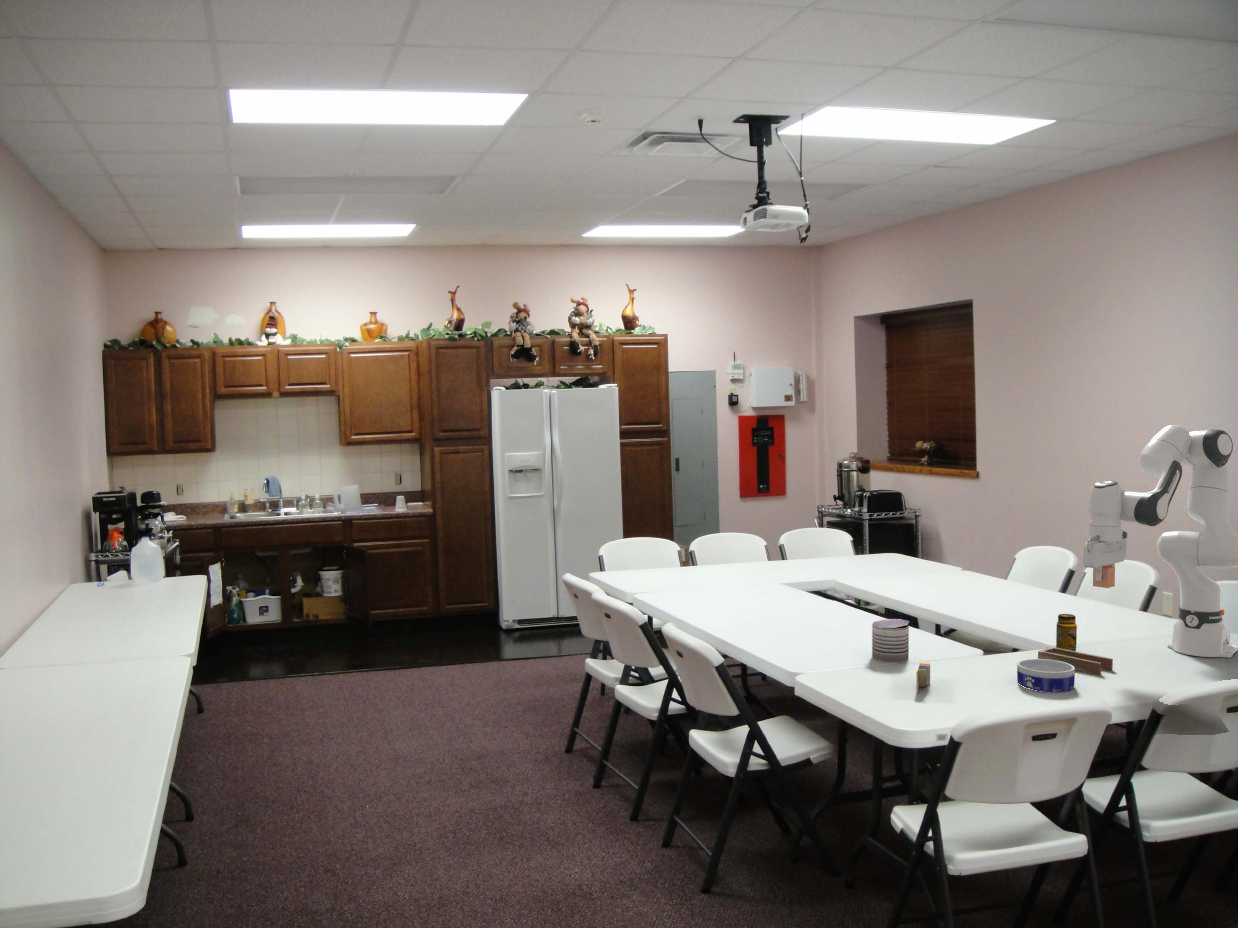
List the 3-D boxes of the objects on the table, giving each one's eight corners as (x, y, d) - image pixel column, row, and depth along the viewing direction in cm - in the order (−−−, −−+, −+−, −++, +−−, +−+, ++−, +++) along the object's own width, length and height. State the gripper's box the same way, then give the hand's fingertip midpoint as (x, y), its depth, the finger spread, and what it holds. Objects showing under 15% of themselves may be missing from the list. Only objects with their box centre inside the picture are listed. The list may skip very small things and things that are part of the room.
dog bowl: (1008, 686, 285) (1008, 665, 285) (1028, 675, 296) (1028, 655, 296) (1063, 696, 275) (1063, 675, 274) (1082, 684, 286) (1082, 664, 285)
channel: (1051, 657, 315) (1051, 646, 315) (1112, 669, 300) (1112, 658, 300) (1037, 662, 310) (1038, 651, 310) (1099, 674, 295) (1099, 663, 295)
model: (930, 685, 288) (930, 659, 287) (928, 695, 278) (928, 669, 277) (918, 684, 289) (918, 658, 288) (916, 694, 279) (916, 668, 278)
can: (907, 664, 309) (908, 626, 309) (870, 661, 313) (870, 624, 312) (909, 655, 320) (909, 618, 319) (873, 652, 324) (873, 616, 323)
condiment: (1080, 654, 319) (1081, 617, 319) (1053, 653, 320) (1054, 617, 319) (1072, 648, 327) (1073, 612, 326) (1046, 648, 327) (1046, 612, 327)
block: (1099, 584, 306) (1100, 564, 306) (1114, 586, 302) (1115, 566, 302) (1092, 586, 303) (1093, 566, 303) (1107, 588, 300) (1108, 568, 299)
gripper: (1098, 538, 293) (1097, 584, 294) (1130, 532, 306) (1129, 576, 306) (1077, 536, 298) (1076, 581, 299) (1110, 530, 311) (1109, 574, 311)
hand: (1103, 579), depth 303 cm, fingers closed on block, 4 cm apart
